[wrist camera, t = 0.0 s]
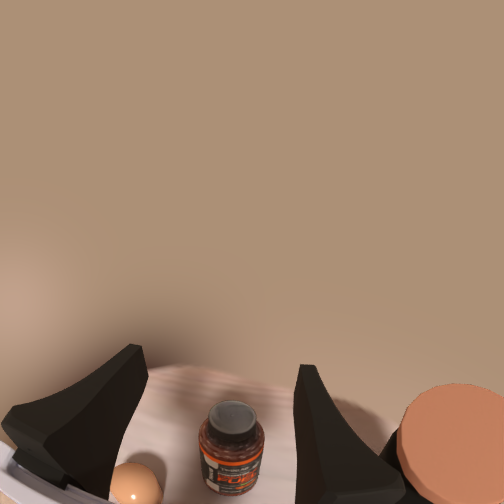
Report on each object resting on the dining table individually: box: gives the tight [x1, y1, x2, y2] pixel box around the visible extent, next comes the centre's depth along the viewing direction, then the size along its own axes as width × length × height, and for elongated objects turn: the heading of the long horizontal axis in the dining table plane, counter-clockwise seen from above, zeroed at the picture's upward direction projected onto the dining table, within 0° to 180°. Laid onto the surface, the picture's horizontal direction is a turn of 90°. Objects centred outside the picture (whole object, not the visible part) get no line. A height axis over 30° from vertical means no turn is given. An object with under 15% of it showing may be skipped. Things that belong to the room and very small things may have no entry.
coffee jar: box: [379, 384, 504, 504], centre depth 14 cm, size 11×11×18 cm
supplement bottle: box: [199, 400, 265, 496], centre depth 24 cm, size 6×6×11 cm
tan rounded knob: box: [110, 463, 163, 504], centre depth 20 cm, size 5×5×4 cm
